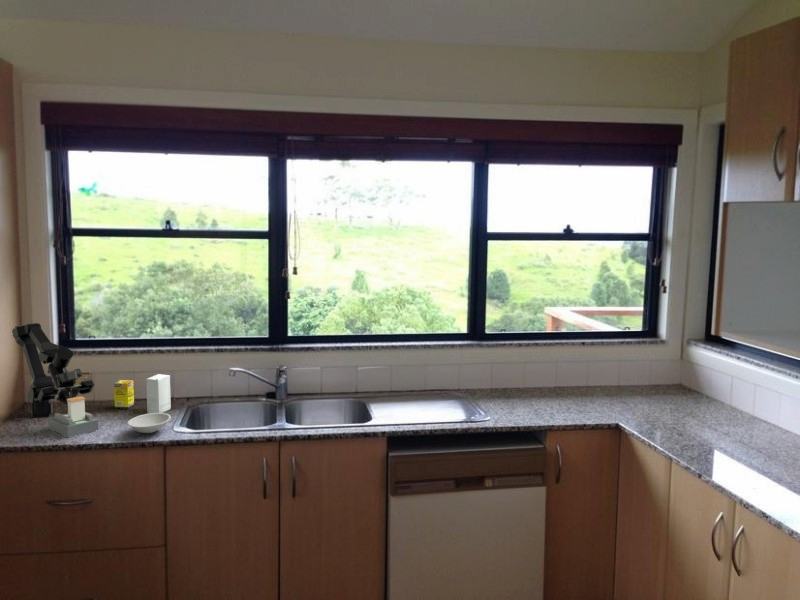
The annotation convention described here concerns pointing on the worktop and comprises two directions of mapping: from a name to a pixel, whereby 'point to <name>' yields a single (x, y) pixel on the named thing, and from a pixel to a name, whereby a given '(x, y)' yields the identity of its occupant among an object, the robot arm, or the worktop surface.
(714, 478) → the worktop surface
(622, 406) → the worktop surface
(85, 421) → the grey holder base
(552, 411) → the worktop surface
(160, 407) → the skincare box
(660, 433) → the worktop surface
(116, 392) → the supplement box
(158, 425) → the dish
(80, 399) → the handle
